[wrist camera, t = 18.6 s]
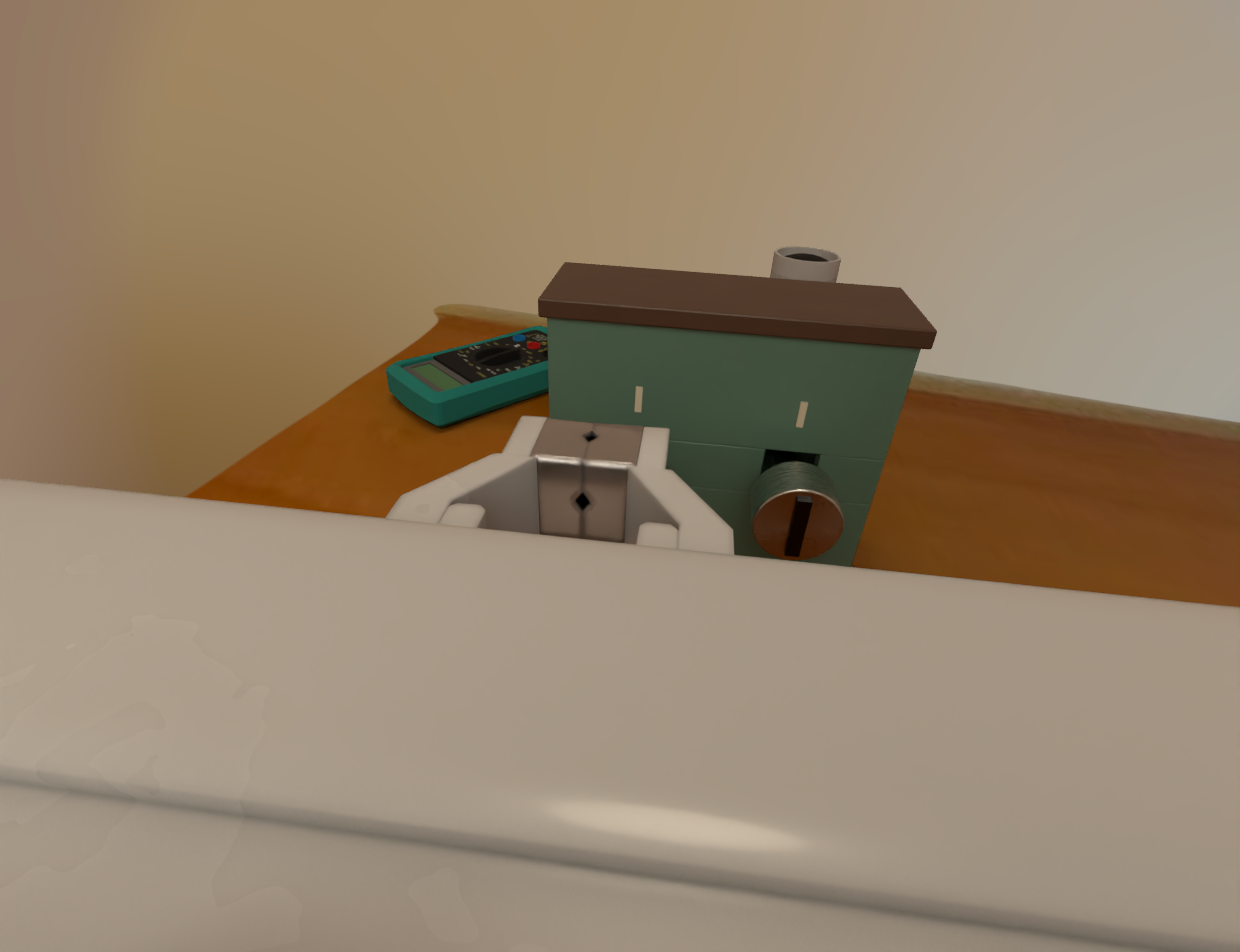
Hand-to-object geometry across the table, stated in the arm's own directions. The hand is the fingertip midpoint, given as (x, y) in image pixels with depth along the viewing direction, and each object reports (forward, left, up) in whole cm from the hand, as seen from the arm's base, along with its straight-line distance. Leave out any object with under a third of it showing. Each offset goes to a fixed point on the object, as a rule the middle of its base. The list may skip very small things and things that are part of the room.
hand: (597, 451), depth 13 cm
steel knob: (-7, -13, -11) cm, 18 cm away
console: (-3, -17, -15) cm, 23 cm away
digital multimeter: (+13, -33, -16) cm, 38 cm away
